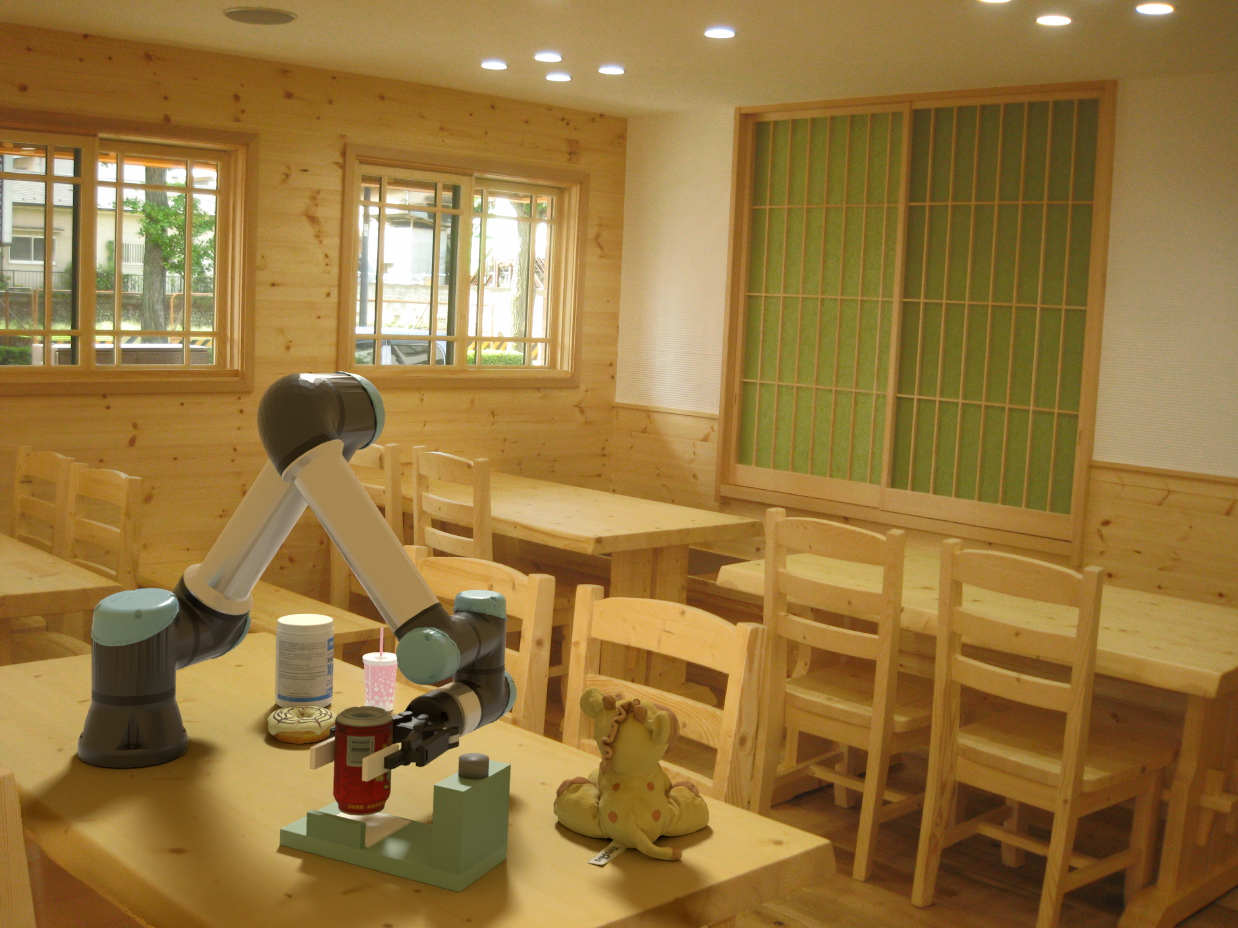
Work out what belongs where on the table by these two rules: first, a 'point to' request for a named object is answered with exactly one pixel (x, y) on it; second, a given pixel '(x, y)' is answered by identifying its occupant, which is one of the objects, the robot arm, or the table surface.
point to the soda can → (360, 759)
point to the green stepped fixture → (422, 830)
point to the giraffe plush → (630, 781)
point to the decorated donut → (301, 724)
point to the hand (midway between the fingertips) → (338, 763)
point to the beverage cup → (380, 678)
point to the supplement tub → (304, 660)
